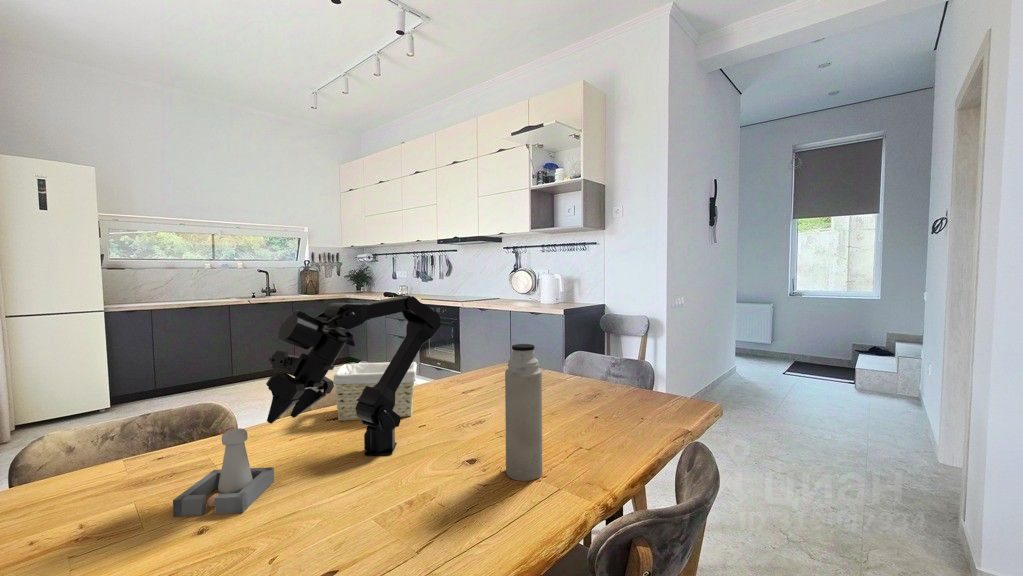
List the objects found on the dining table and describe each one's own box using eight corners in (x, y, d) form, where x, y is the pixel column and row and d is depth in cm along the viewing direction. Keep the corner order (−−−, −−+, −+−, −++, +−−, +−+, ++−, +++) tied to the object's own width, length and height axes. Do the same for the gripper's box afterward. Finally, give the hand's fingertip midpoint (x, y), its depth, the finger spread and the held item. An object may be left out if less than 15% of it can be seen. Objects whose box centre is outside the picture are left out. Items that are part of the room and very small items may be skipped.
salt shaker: (234, 505, 80) (232, 437, 80) (210, 501, 82) (208, 434, 81) (260, 490, 86) (258, 426, 85) (237, 486, 87) (236, 424, 87)
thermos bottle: (512, 462, 98) (511, 341, 97) (546, 466, 95) (545, 342, 94) (500, 477, 90) (499, 346, 89) (536, 483, 88) (535, 348, 87)
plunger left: (223, 499, 80) (223, 491, 80) (216, 506, 78) (215, 497, 78) (214, 500, 80) (214, 491, 80) (206, 506, 78) (206, 497, 78)
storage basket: (417, 402, 144) (416, 359, 144) (416, 418, 128) (415, 370, 128) (343, 407, 140) (342, 363, 139) (332, 424, 124) (331, 374, 123)
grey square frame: (274, 481, 89) (273, 467, 89) (242, 513, 77) (242, 496, 77) (214, 483, 88) (214, 469, 88) (173, 516, 77) (172, 500, 76)
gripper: (311, 339, 103) (274, 397, 101) (267, 334, 85) (221, 404, 82) (349, 362, 102) (313, 421, 100) (314, 362, 84) (268, 434, 81)
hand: (281, 419), depth 91 cm, fingers open, 9 cm apart
